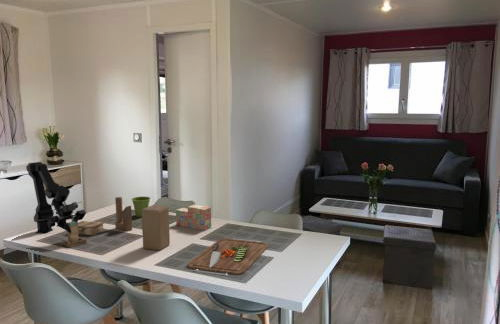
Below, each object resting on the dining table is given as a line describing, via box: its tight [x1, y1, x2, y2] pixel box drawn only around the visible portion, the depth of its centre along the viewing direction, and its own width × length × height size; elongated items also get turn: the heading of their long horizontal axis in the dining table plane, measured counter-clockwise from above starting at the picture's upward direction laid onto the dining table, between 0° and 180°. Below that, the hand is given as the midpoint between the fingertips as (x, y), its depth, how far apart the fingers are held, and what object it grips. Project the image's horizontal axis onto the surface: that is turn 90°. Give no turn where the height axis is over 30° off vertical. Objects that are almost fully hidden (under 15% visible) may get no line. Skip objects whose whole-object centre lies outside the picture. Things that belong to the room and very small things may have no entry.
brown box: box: [78, 220, 104, 236], centre depth 232 cm, size 14×10×4 cm
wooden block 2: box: [115, 196, 133, 232], centre depth 237 cm, size 4×11×18 cm, turn 54°
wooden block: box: [141, 204, 171, 251], centre depth 206 cm, size 10×10×20 cm
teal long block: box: [66, 221, 79, 243], centre depth 213 cm, size 4×4×11 cm
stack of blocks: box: [175, 204, 212, 231], centre depth 242 cm, size 21×6×12 cm, turn 58°
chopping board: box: [186, 237, 270, 277], centre depth 195 cm, size 45×27×3 cm, turn 161°
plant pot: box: [131, 196, 151, 218], centre depth 266 cm, size 12×12×11 cm
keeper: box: [61, 236, 87, 249], centre depth 213 cm, size 8×9×2 cm
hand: (74, 231), depth 212 cm, fingers closed on teal long block, 4 cm apart
